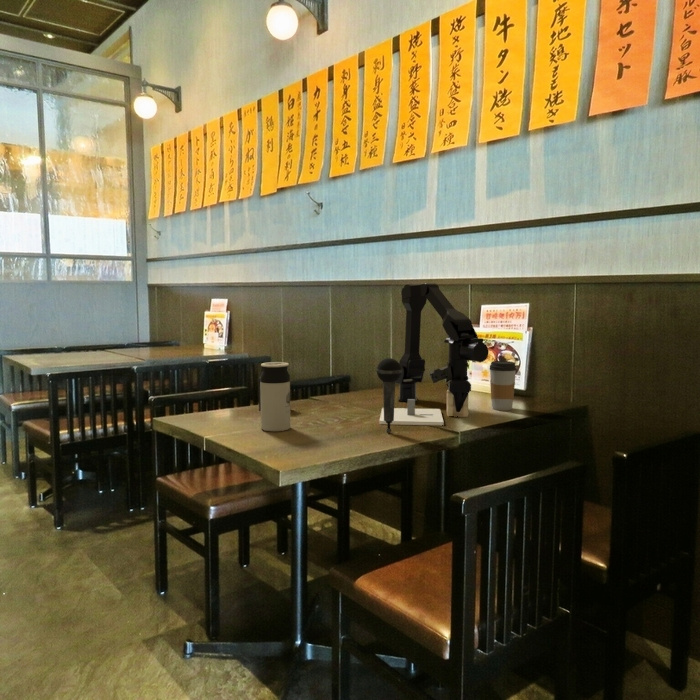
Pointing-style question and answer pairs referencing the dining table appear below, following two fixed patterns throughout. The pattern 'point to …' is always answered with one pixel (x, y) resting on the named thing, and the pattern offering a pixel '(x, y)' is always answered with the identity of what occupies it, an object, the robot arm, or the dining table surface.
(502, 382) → the coffee cup
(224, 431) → the dining table surface
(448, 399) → the cardboard box
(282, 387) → the travel mug
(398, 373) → the microphone
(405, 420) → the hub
